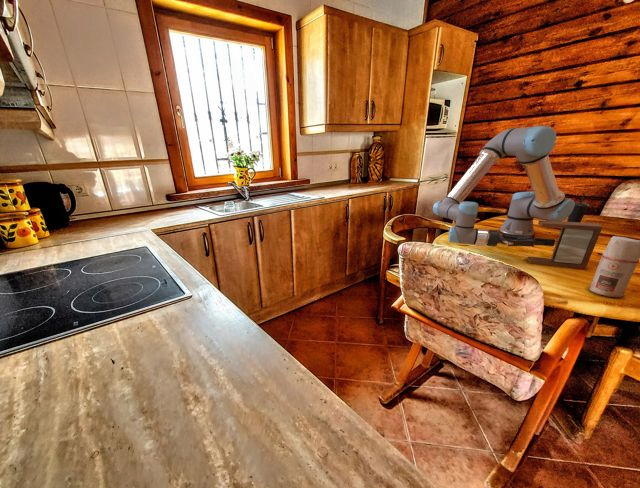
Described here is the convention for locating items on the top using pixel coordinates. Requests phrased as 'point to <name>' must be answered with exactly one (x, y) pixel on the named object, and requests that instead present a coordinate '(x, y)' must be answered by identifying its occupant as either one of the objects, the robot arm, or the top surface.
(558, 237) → the door
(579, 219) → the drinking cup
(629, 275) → the spray can
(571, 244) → the showcase frame
